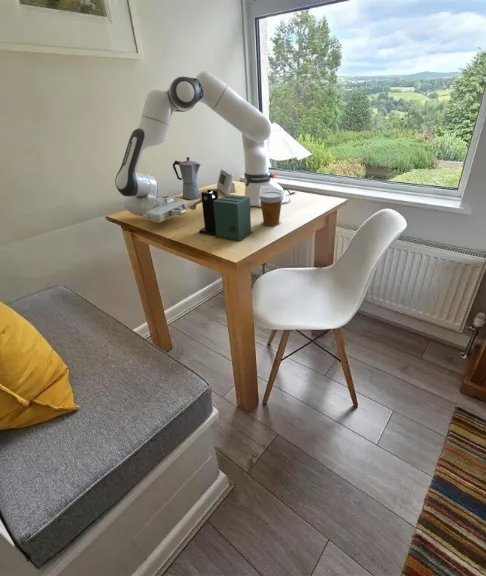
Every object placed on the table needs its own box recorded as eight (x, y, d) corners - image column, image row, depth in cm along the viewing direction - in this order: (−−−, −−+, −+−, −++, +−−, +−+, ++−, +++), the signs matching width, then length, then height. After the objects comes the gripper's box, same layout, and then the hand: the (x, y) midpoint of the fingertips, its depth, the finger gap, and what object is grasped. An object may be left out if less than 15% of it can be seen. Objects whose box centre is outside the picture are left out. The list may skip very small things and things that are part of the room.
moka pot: (201, 200, 165) (196, 159, 155) (173, 199, 168) (166, 158, 157) (207, 195, 173) (203, 155, 162) (180, 194, 176) (174, 155, 165)
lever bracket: (199, 233, 128) (194, 192, 119) (210, 226, 134) (206, 187, 125) (216, 236, 125) (212, 195, 116) (227, 229, 131) (224, 189, 122)
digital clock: (216, 188, 185) (215, 168, 179) (232, 186, 186) (231, 167, 181) (219, 195, 171) (217, 175, 166) (236, 194, 173) (235, 173, 167)
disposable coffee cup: (287, 222, 135) (288, 194, 128) (271, 229, 129) (271, 199, 123) (270, 217, 141) (270, 189, 134) (255, 223, 135) (254, 194, 129)
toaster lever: (189, 212, 128) (184, 204, 127) (194, 209, 130) (190, 202, 130) (212, 200, 120) (207, 191, 119) (217, 197, 123) (212, 189, 122)
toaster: (214, 237, 123) (211, 201, 116) (228, 228, 131) (226, 193, 123) (238, 242, 119) (235, 204, 112) (251, 232, 127) (249, 196, 120)
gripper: (138, 208, 128) (165, 213, 122) (171, 194, 143) (197, 198, 138) (141, 223, 131) (168, 228, 125) (174, 208, 146) (199, 212, 141)
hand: (183, 212), depth 132 cm, fingers closed
